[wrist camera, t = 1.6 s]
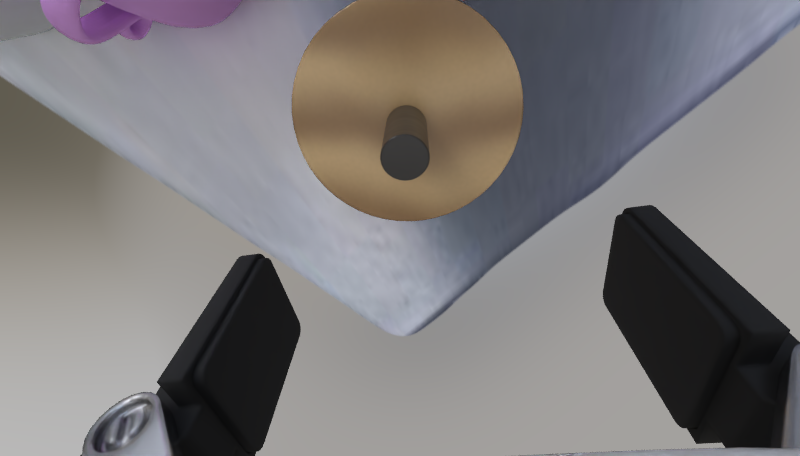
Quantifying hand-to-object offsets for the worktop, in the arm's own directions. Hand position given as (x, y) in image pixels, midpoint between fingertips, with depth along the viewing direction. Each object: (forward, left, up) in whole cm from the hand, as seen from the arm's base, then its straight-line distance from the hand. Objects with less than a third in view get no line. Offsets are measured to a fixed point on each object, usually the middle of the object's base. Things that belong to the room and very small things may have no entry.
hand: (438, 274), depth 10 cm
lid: (0, -1, -14) cm, 14 cm away
